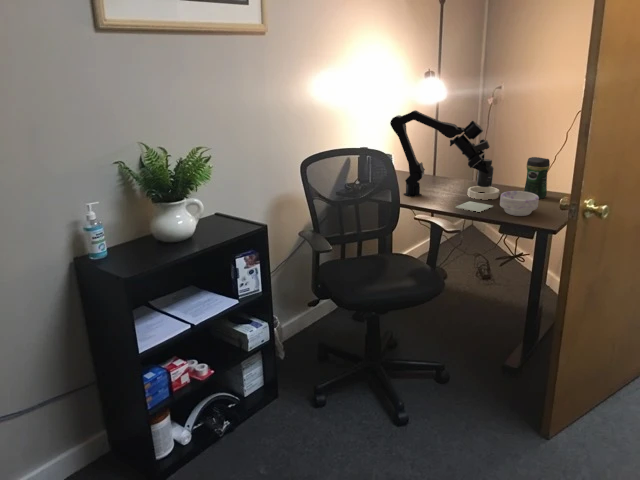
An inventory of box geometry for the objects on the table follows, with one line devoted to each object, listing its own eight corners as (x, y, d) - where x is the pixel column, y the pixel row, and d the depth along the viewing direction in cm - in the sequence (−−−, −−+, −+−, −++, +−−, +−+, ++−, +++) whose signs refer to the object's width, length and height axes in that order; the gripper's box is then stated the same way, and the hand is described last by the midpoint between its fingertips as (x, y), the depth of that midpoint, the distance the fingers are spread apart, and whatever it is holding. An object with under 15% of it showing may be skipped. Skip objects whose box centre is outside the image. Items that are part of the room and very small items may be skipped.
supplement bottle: (491, 187, 238) (493, 162, 234) (475, 186, 241) (477, 161, 236) (492, 184, 244) (495, 158, 240) (477, 183, 247) (479, 158, 242)
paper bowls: (534, 220, 213) (536, 201, 210) (495, 215, 220) (497, 197, 217) (539, 210, 225) (541, 192, 223) (503, 206, 233) (504, 189, 230)
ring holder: (461, 195, 252) (462, 189, 251) (481, 190, 259) (482, 184, 258) (484, 201, 241) (484, 195, 240) (504, 196, 248) (505, 190, 247)
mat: (455, 207, 233) (455, 206, 233) (469, 202, 240) (469, 201, 240) (479, 212, 225) (479, 211, 224) (493, 206, 232) (493, 205, 232)
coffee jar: (548, 197, 244) (553, 157, 238) (539, 200, 240) (543, 160, 233) (530, 193, 251) (534, 155, 245) (520, 196, 247) (524, 157, 241)
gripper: (477, 137, 227) (502, 163, 227) (481, 131, 244) (503, 156, 244) (458, 154, 233) (481, 180, 233) (462, 147, 249) (484, 171, 249)
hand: (488, 171), depth 240 cm, fingers closed on supplement bottle, 7 cm apart
